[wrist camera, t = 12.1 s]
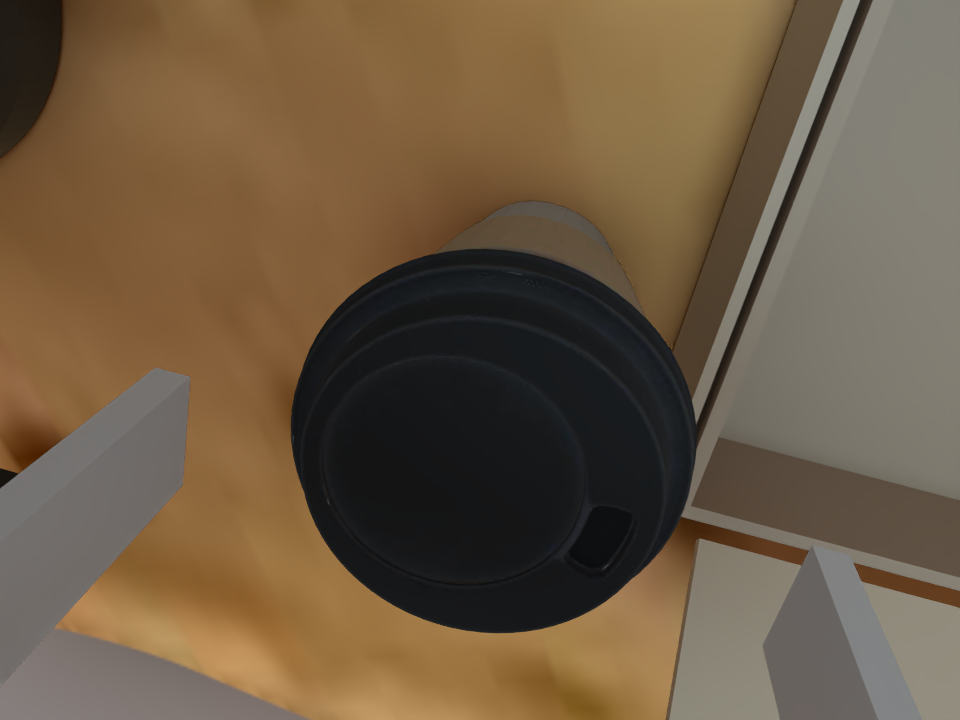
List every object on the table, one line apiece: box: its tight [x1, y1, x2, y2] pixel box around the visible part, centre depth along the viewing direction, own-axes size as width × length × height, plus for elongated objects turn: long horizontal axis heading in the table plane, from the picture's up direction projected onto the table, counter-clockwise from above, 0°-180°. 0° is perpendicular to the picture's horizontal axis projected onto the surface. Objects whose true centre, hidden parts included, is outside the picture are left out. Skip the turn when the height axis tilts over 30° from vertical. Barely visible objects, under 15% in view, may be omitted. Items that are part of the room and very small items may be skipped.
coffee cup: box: [291, 201, 697, 633], centre depth 24 cm, size 9×9×15 cm
